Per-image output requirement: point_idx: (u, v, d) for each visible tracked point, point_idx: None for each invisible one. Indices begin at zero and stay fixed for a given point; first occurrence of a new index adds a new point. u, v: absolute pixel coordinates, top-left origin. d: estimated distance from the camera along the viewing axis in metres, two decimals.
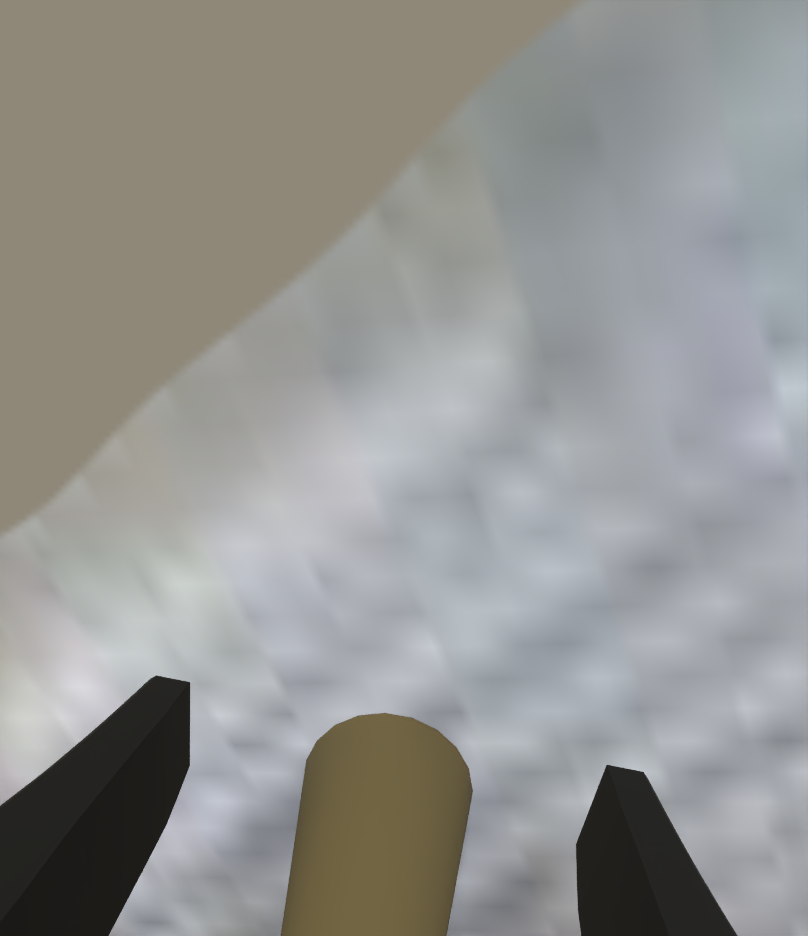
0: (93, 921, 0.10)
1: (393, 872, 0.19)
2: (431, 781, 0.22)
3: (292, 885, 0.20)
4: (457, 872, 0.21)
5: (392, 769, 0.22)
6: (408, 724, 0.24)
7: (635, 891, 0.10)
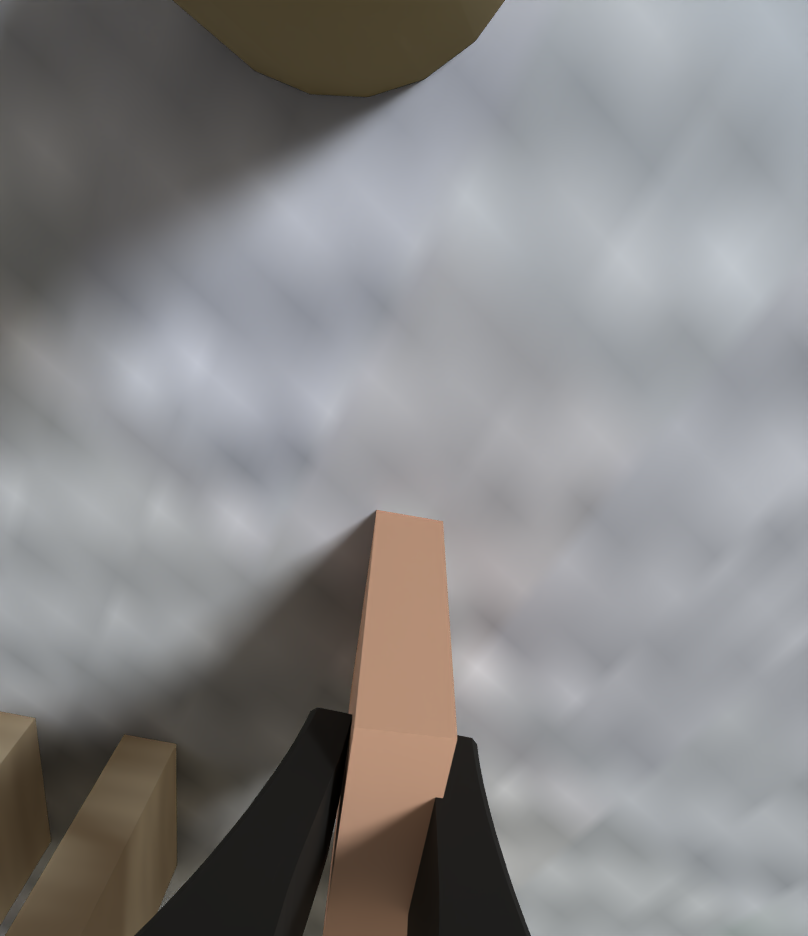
0: None
1: None
2: None
3: None
4: None
5: None
6: None
7: (431, 849, 0.10)
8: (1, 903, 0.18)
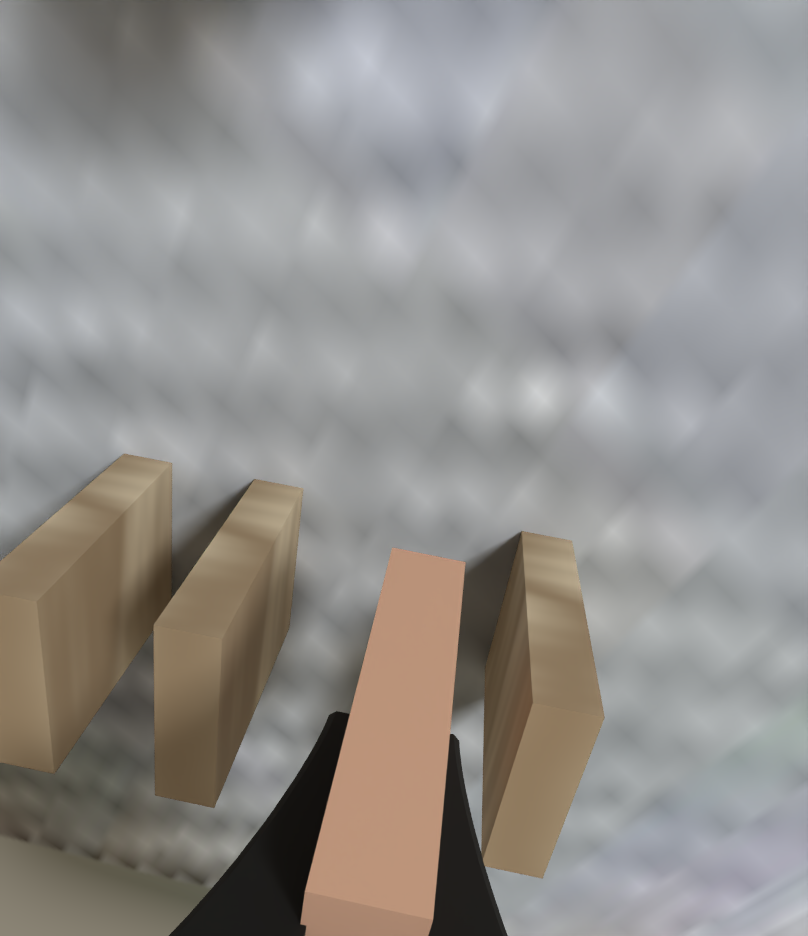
0: None
1: None
2: None
3: None
4: None
5: None
6: None
7: None
8: (138, 634, 0.20)
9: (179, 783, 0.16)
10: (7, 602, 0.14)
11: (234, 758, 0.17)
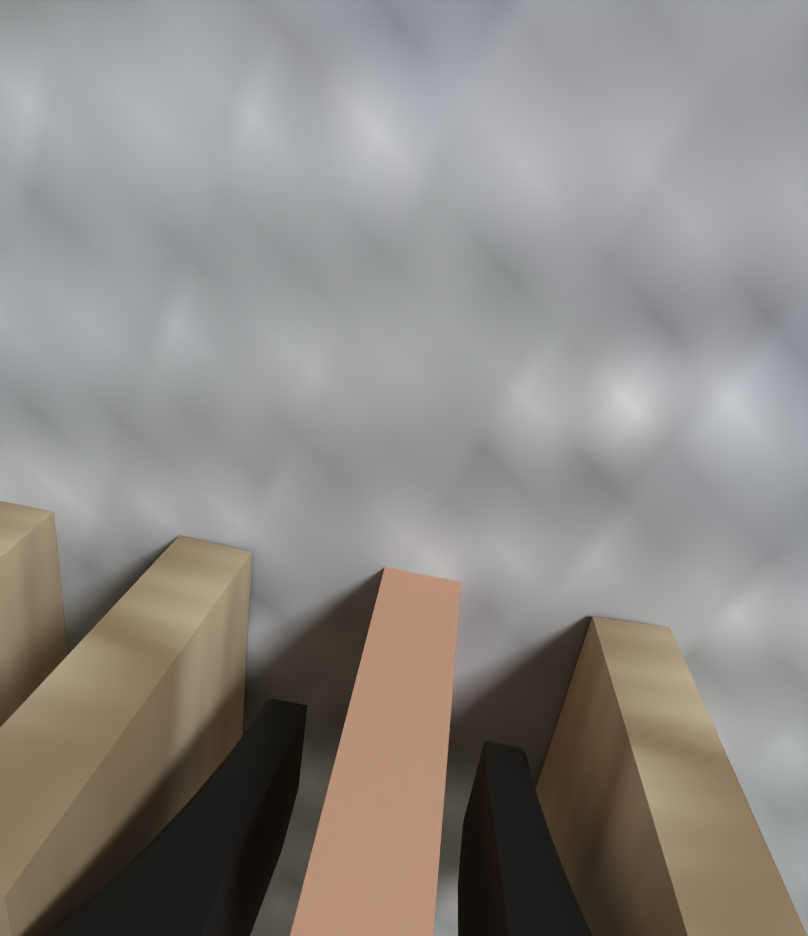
0: None
1: None
2: None
3: None
4: None
5: None
6: None
7: (489, 861, 0.10)
8: None
9: None
10: None
11: None
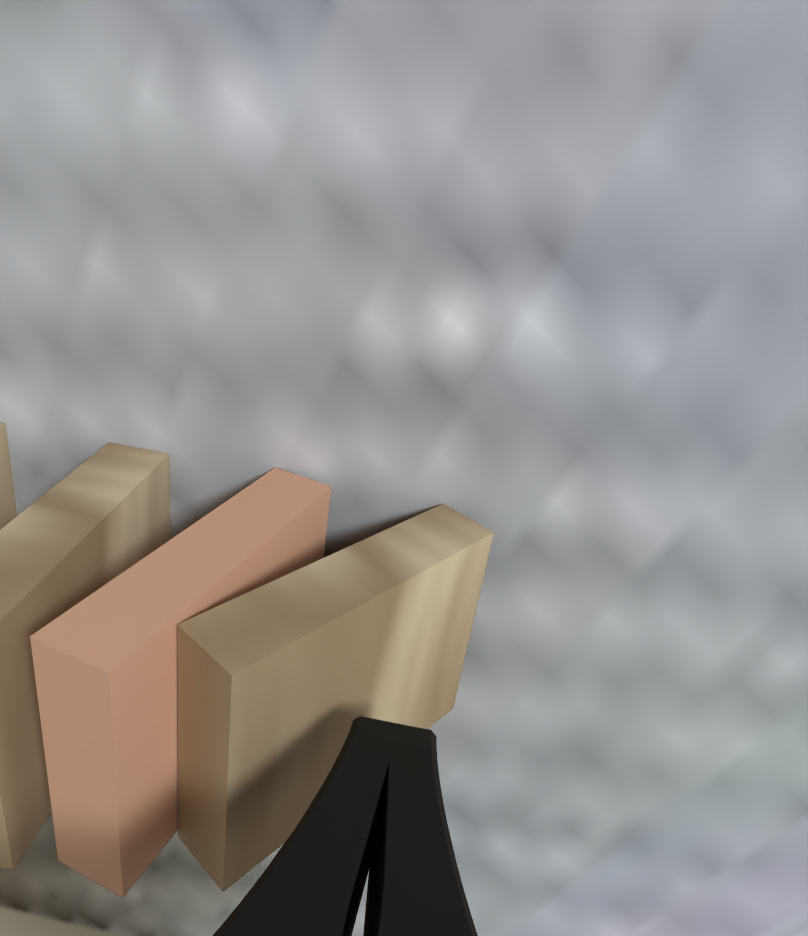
0: None
1: None
2: None
3: None
4: None
5: None
6: None
7: (382, 839, 0.10)
8: None
9: None
10: None
11: None
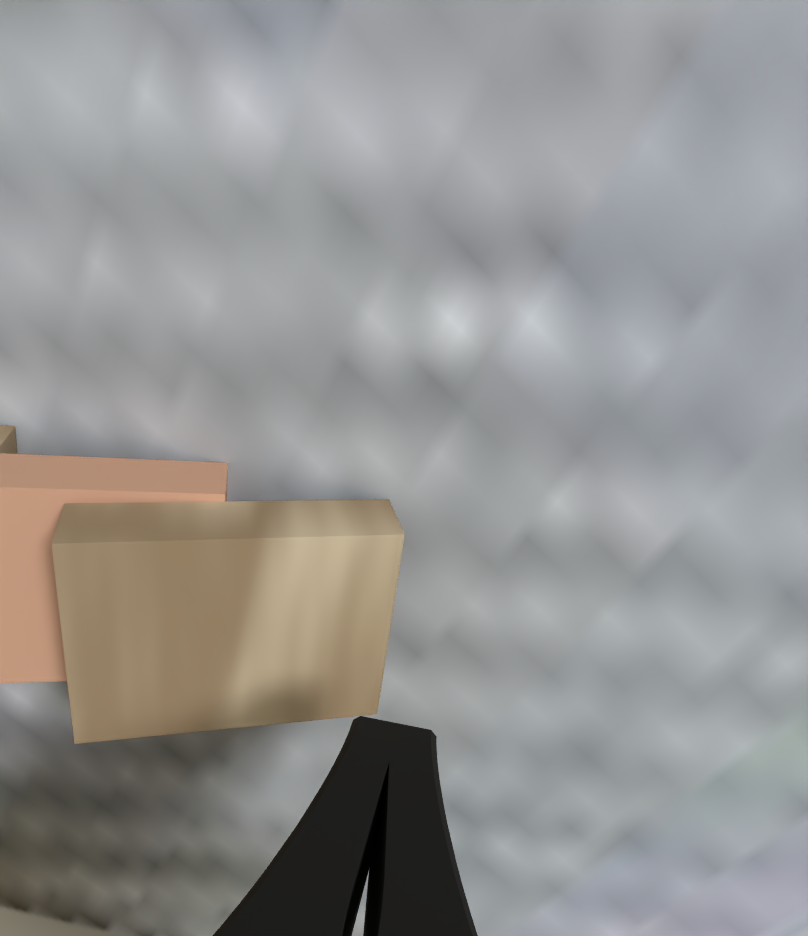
0: None
1: None
2: None
3: None
4: None
5: None
6: None
7: (382, 839, 0.10)
8: None
9: None
10: None
11: None
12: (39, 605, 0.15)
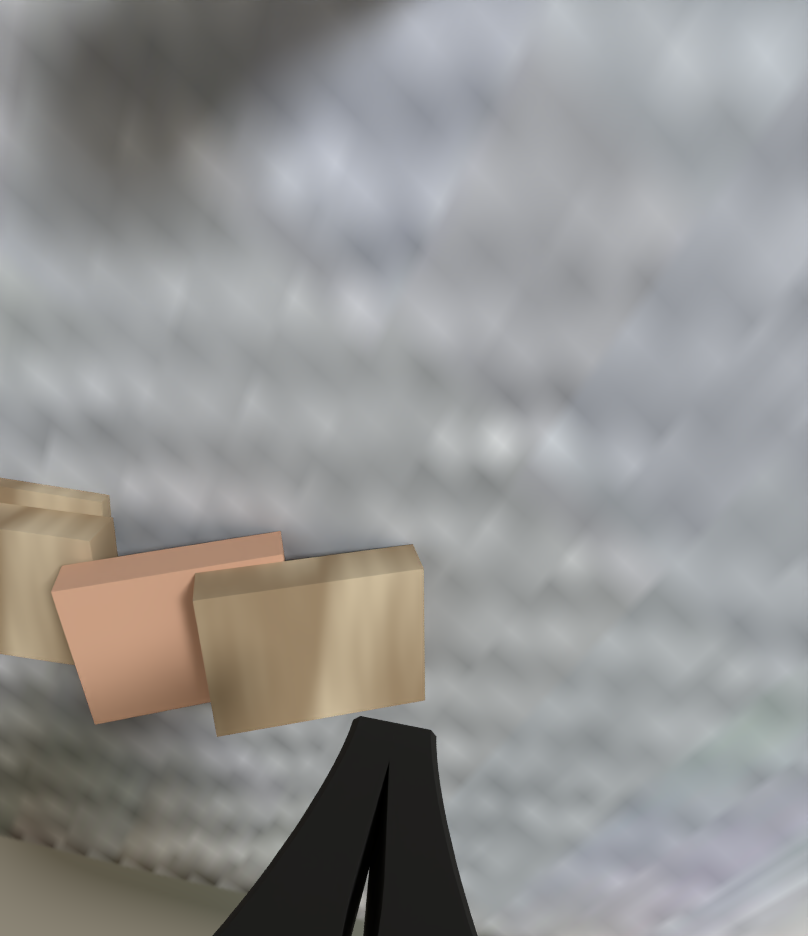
0: None
1: None
2: None
3: None
4: None
5: None
6: None
7: (382, 839, 0.10)
8: None
9: None
10: None
11: None
12: (173, 653, 0.21)
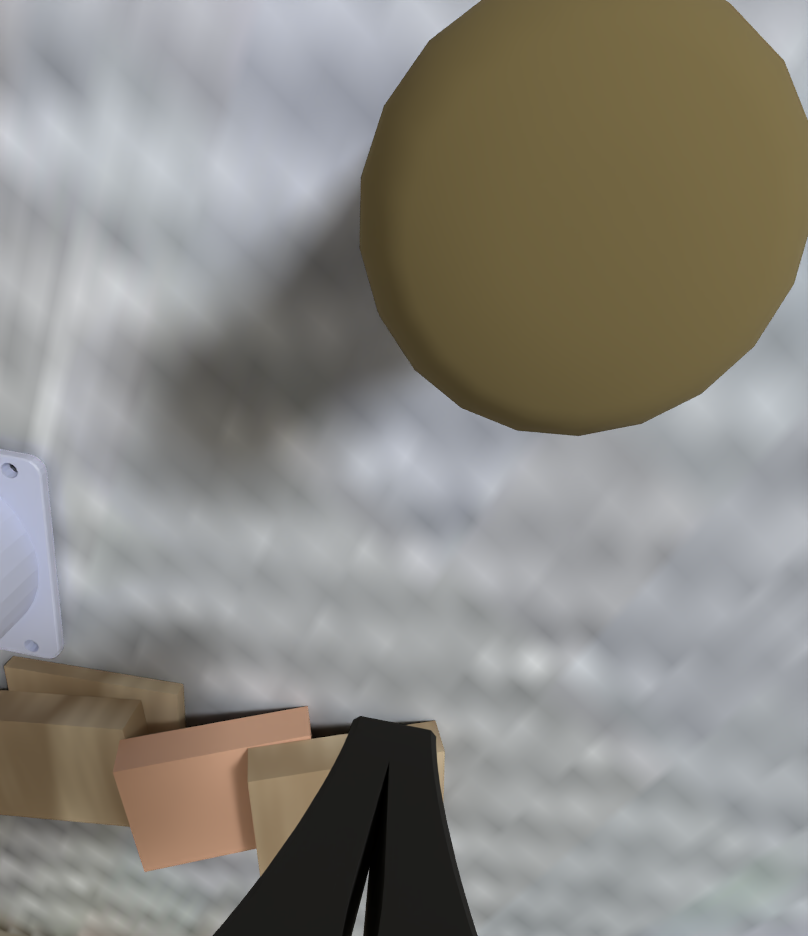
0: None
1: None
2: None
3: None
4: None
5: None
6: None
7: (382, 839, 0.10)
8: None
9: None
10: None
11: (23, 816, 0.27)
12: (213, 814, 0.25)
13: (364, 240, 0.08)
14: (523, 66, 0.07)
